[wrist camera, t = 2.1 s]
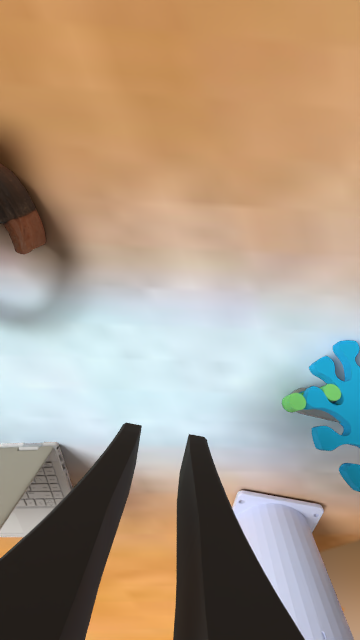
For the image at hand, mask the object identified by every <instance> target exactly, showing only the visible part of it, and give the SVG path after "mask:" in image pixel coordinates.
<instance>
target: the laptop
mask: <svg viewBox="0 0 360 640" xmlns="http://www.w3.org/2000/svg"><path fill="white" fill-rule="evenodd" d="M72 489H73V487H72V484H71V481H70V477H69V474H68V471H67V468H66V465H65V462H64V459H63V456H62V453H61V450H60V446H59V444H58V443H57V442H44V443H26V444H24V443H7V444H0V537H25V536H26V535H27V534H28V533H29V532H30V531H31V530H32V529H33V528H34V527H36V526H37V525H38V524H39V523H40V522H41V521H42V520H43V519H44V518H45V517H46V516H47V515H48V514H49V513H50V512H51V511H52V510H53V509H54V508H55V507H56V506H57V505H58V504H59V503H60V502H61V501H62V500H63V499H64V498H65V497H66V496H67V494H68V493H69V492H70V491H71V490H72Z"/></svg>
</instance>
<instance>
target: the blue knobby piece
mask: <svg viewBox="0 0 360 640" xmlns="http://www.w3.org/2000/svg"><path fill="white" fill-rule="evenodd" d="M333 351H334V353H335V355H336V356H337V357H338V358H339V359H340V361H341V363H342V365H343V368H344V373H345V381H341V380H340V379H338V378H337V376H336V374H335V365H334V362H333V361H332V359H331V358H329V357H328V356H325V357H322V358H320V359H319V360H317V361H316V362H314V363H313V364H312V365H311V366H310V367H309V370H310V371H311V373H312V374H313V375H315V376H317V377H319V378H320V379H322V380H323V381H325V382H326V383H327V385H325V386H322V387H320V388H318V387H315V386H311V387H309V388H307V389H306V388H299V389H297V390H295V391H293V392H292V393H291V394H290V395H288V396H286V397H285V398H283V400H282V405H283V408H284V409H285V410H286V411H288V412H295V411H296V412H298V413H300V414H304V415H309V416H313V417H318V418H322V419H327V420H331V421H335V422H339V423H340V424H341V425H342V426H343V428H344V431H343V434H342V435H339V434H338V433H336V432H335V431H334V430H333V429H331V428H330V427H327V426H317V427H313V428H312V437H313V441H314V444H315V447H316V448H317V449H319V450H326V451H332V450H334V449H335V448H337V447H338V446H340V445H343V444H350V445H354V446H357V447H359V448H360V367H359V366H358V365H357V364H356V362H355V357H356V356H357V354H358V352H359V345H358V343H357V342H356V341H351V340H346V341H339V342H338V343H336V344H335V345H333ZM339 472H340V474H341V476H342V477H343V479H344V480H345V481H346V482H347V484H348V485H349V486H350V487H351V488H352V489H353V490H356V491H359V492H360V465H358V464H351V463H344V464H342V465H341V466H340V468H339Z"/></svg>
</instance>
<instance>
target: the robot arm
mask: <svg viewBox="0 0 360 640" xmlns="http://www.w3.org/2000/svg"><path fill="white" fill-rule="evenodd" d="M141 427H142V426H141V425H136V424H130V423H125V424H123V426H122V427H121V429H120V431H119V432H118V434H117V435H116V437H115V438H114V439H113V441H112V442H111V444H110V445H109V446H108V448H107V449H106V450H105V451H104V453H103V454H102V455H101V456H100V458H99V459H98V460H97V461H96V463H95V464H94V465H93V466H92V468H91V469H90V470H89V471H88V472H87V473H86V475H85V476H84V477H83V478H82V479H81V480H80V481H79V482H78V483H77V485H76V486H75V487H74V488H73V489H72V490H71V491H70V492H69V493H68V494H67V496H66V497H65V498H64V499H63V500H62V501H61V502H60V503H59V504H58V505H57V506H56V507H55V508H54V509H53V510H52V511H51V512H50V513H49V514H48V515H47V516H46V517H45V518H44V519H43V520H42V521H41V522H40V523H39V524H38V525H37V526H36V527H34V528H33V529H32V530H31V531H30V532H29V533H28V534H27V535H26V536H25V537H24V538H22V539H21V540H20V541H19V542H18V543H17V544H16V545H15V546H14V547H13V548H12V549H10V550H9V551H8V552H7V553H6V554H5V555H4V556H3V557H1V558H0V640H85V637H86V633H87V629H88V626H89V622H90V618H91V614H92V610H93V606H94V603H95V599H96V595H97V591H98V587H99V584H100V581H101V577H102V574H103V571H104V567H105V564H106V561H107V558H108V555H109V552H110V549H111V546H112V543H113V540H114V537H115V534H116V531H117V528H118V525H119V522H120V519H121V516H122V513H123V510H124V507H125V504H126V501H127V498H128V494H129V490H130V486H131V482H132V478H133V474H134V469H135V465H136V459H137V453H138V446H139V440H140V433H141ZM323 512H324V510H323V508H322V506H321V505H320V504H316V503H310V502H305V501H299V500H294V499H288V498H283V497H277V496H272V495H266V494H261V493H255V492H250V491H244V490H241V491H239V492H238V493H237V495H236V498H235V501H234V504H233V507H231V505H230V502H229V500H228V498H227V495H226V493H225V491H224V488H223V486H222V483H221V481H220V478H219V476H218V473H217V470H216V468H215V465H214V462H213V459H212V456H211V453H210V450H209V447H208V443H207V440H206V439H205V437H201V436H196V435H190V434H189V436H188V440H187V445H186V449H185V453H184V457H183V461H182V466H181V470H180V476H179V486H178V497H177V585H176V609H175V623H174V638H173V640H354V639H353V636H352V633H351V631H350V628H349V626H348V624H347V621H346V618H345V616H344V613H343V611H342V608H341V606H340V603H339V601H338V598H337V595H336V593H335V590H334V588H333V585H332V583H331V580H330V578H329V575H328V573H327V570H326V568H325V565H324V563H323V560H322V558H321V555H320V553H319V550H318V547H317V545H316V542H315V540H314V537H313V535H312V532H313V530H314V528H315V527H316V525H317V523H318V521H319V519H320V518H321V516H322V514H323Z"/></svg>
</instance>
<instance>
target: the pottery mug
mask: <svg viewBox="0 0 360 640" xmlns="http://www.w3.org/2000/svg"><path fill="white" fill-rule="evenodd" d="M0 223H3V224H4V226H5V228H6V229H7V231H8V232H9V235H10V237H11V239H12V242H13V244H14V247H15V251H16V252H17V253H20V254H26V253H29V252H31V251H32V250H33V249H35V248H38V247H40V246H42V245H44V244H45V243H46V238H45V231H44V228H43V224H42V221H41V219H40V217H39V214H38V212H37V211H36V207H35V205H34V203H33V201H32V200H31V198H30V196H29V194H28V191H27V190H26V189H25V188H24V186H23V185H22V184H21V182H20V181H19V179H18V178H17V177H16V176H15V175H14V174H13V172H11V171H10V170H9V169H7V168H6V167H5V166H3V165H2V164H0Z"/></svg>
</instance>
